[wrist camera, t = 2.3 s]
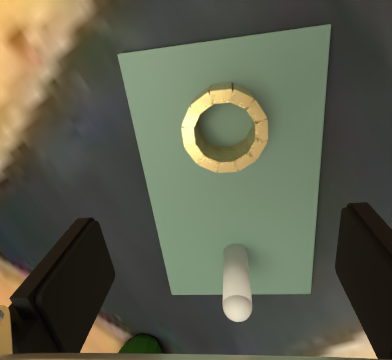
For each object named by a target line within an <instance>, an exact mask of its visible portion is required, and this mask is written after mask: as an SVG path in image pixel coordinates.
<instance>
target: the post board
mask: <svg viewBox="0 0 392 360" xmlns="http://www.w3.org/2000/svg"><path fill="white" fill-rule="evenodd" d="M330 31H331V24H328V25H321V26H314V27H307V28H300V29H293V30H286V31H279V32H271V33H264V34H257V35H250V36H243V37H236V38H229V39H222V40H215V41H208V42H200V43H193V44H186V45H179V46H172V47H165V48H158V49H151V50H144V51H137V52H129V53H122V54H118V59H119V63H120V68H121V72H122V77H123V81H124V85H125V90H126V94H127V99H128V103H129V107H130V112H131V116H132V121H133V125H134V130H135V134H136V138H137V143H138V147H139V152H140V156H141V161H142V165H143V169H144V174H145V178H146V183H147V187H148V191H149V196H150V200H151V205H152V209H153V214H154V218H155V222H156V227H157V231H158V236H159V240H160V245H161V249H162V253H163V258H164V262H165V267H166V271H167V275H168V280H169V284H170V289H171V293H172V295H213V294H223V310H224V313H225V314H226V316H227V317H228V318H229V319H231V320H232V321H235V322H241V321H244V320H246V319H247V318H248V317H249V316H250V314H251V312H252V298H251V294H311V282H312V269H313V255H314V242H315V229H316V216H317V203H318V189H319V176H320V163H321V150H322V136H323V123H324V110H325V97H326V83H327V70H328V57H329V44H330ZM228 82H231V85H232V84H233V83H235V84H238V85H240V86H242V87H244V88H246V89H248V90H250V91H251V92H252V93H253V95H254V96H255V98H256V99H257V101H258V102H259V104H260V105H261V107H262V109H263V111H264V113H265V114H266V116H267V119H268V140H267V144H266V146H265V147H264V149H263V151H262V152H261V154H260V156H259V158H258V159H256V161H255V162H253V163H252V164H250V165H248V166H247V167H245V168H244V169H242V170H240V171H239V170H238V169H237V172H227V173H218V170H217V172H216V173H215V172H213V171H211V170H208V169H206V168H204V167H201V166H199V163H198V164H196V162H195V161H194V160H193V159H192V157H191V156H190V155H189V153H188V152H187V151H186V150H185V148H186V147H184V142H183V136H182V129H181V128H182V124H183V121H184V119H185V116H186V114H187V111H188V109H189V107H190V105H191V103H192V101H193V100H194V98H195V97H196V96H197V95H198V94H200V93H201V92H202V91H204V90H205V89H206V88H207V87H209V86H210V85H211V86H212V84H220V83H228ZM198 121H199V129H200V132H201V133H202V135H203V136H204V137H205V139H206V140H207V141H208V142H210V143H212V144H214V145H217V146H219V147H226V146H234V145H236V144H237V143H239V142H240V141H242V140H243V139H245V138H246V136H247V134H248V132H249V130H250V128H251V126H252V120H251V116H250V115H249V113H248V112H247V110H246V109H244V108H242V107H239V106H237V105H235V104H233V103H231V102H229V103H220V104H213V105H212V106H210V107H209V108H207V109H206V110H205V111H203V112H202V113H201V114H200V115H199V117H198Z"/></svg>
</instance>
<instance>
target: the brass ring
mask: <svg viewBox="0 0 392 360" xmlns="http://www.w3.org/2000/svg"><path fill="white" fill-rule="evenodd" d="M229 102H231V103H233V104H235V105H237V106H239V107H242V108H244V109H246V110H247V112H248V113H249V115H250V116H251V120H252V126H251V128H250V130H249V132H248V134H247V136H246V138H245V139H243V140H242V141H240V142H239V143H237V144H236V145H234V146H226V147H219V146H217V145H214V144H212V143H210V142H208V141H207V140H206V139H205V137H204V136H203V135H202V133H201V132H200V129H199V121H198V117H199V115H200V114H201V113H202V112H203V111H205V110H206V109H207V108H209V107H210V106H212V105H213V104H220V103H229ZM181 129H182V136H183V142H184V147H186V148H185V150H186V151H187V152H188V153H189V155H190V156H191V157H192V159H193V160H194V161H195V162H196V164H198V163H199V166H201V167H204V168H206V169H208V170H211V171H213V172H215V173H216V172H217V170H218V173H227V172H237V169H238V170H239V171H240V170H242V169H244V168H245V167H247V166H248V165H250V164H252V163H253V162H255V161H256V159H258V158H259V156H260V154H261V152H262V151H263V149H264V147H265V146H266V144H267V140H268V119H267V116H266V114H265V113H264V111H263V109H262V107H261V105H260V104H259V102H258V101H257V99H256V98H255V96H254V95H253V93H252V92H251V91H250V90H248V89H246V88H244V87H242V86H240V85H238V84H235V83H233V84H232V85H231V82H228V83H220V84H212V86H211V85H210V86H209V87H207V88H206V89H205V90H204V91H202V92H201V93H200V94H198V95H197V96H196V97H195V98H194V100H193V101H192V103H191V105H190V107H189V109H188V111H187V114H186V116H185V119H184V121H183V124H182V128H181Z"/></svg>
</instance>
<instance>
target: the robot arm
mask: <svg viewBox="0 0 392 360" xmlns="http://www.w3.org/2000/svg"><path fill="white" fill-rule="evenodd" d="M335 269H336V273H337V276H338V278H339V280H340V282H341V284H342V286H343V288H344V290H345V292H346V294H347V296H348V298H349V300H350V303H351V305H352V307H353V309H354V311H355V313H356V315H357V317H358V319H359V321H360V323H361V325H362V327H363V329H364V331H365V333H366V335H367V337H368V339H369V341H370V344H371V346H372V348H373V350H374V352H375V354H376V356H377V358H378V359H365V358H339V357H301V356H255V355H201V354H131V353H80V351H81V349H82V347H83V344H84V342H85V340H86V338H87V336H88V334H89V332H90V330H91V328H92V325H93V323H94V321H95V319H96V317H97V315H98V313H99V311H100V309H101V306H102V304H103V302H104V300H105V298H106V296H107V294H108V292H109V289H110V287H111V285H112V283H113V281H114V278H115V271H114V267H113V264H112V261H111V258H110V255H109V252H108V249H107V246H106V243H105V240H104V237H103V234H102V231H101V228H100V225H99V222H98V221H95V220H94V219H93V218H79V219H77V220H76V221H75V222H74V223H73V224H72V225H71V227H70V228H69V229H68V230H67V231H66V232H65V234H64V235H63V236H62V237H61V238H60V239H59V241H58V242H57V243H56V244H55V245H54V247H53V248H52V249H51V250H50V251H49V252H48V254H47V255H46V256H45V257H44V258H43V259H42V261H41V262H40V263H39V264H38V265H37V266H36V268H35V269H34V270H33V271H32V272H31V274H30V275H29V276H28V277H27V278H26V279H25V281H24V282H23V283H22V284H21V285H20V286H19V288H18V289H17V290H16V291H15V292H14V293H13V295H12V296H11V297H10V300H11V302H12V304H11V305H10V306H9V307H6V306H4V305H0V360H392V229H391V228H390V227H389V226H388V225H387V224H386V223H385V222H384V220H383V219H382V218H381V217H380V216H379V215H378V214H377V213H376V212H375V210H374V209H373V208H372V207H371V206H370V205H369V204H368V203H366V202H363V203H349V204H348V205H347V207H346V208H342V212H341V220H340V228H339V237H338V245H337V254H336V263H335Z"/></svg>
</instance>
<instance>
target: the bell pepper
mask: <svg viewBox="0 0 392 360" xmlns="http://www.w3.org/2000/svg"><path fill="white" fill-rule="evenodd" d="M119 353H131V354H163V352H162V349H161V348H160V347H159V344H158V342H157V340H156V339H155V338H153V337H150V336H148V335H138V336H136V337H134V338H133V339H132V340H129V341H128V342H127V343H125V344H124V345H123V346H122V348H121V349H120V351H119Z"/></svg>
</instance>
